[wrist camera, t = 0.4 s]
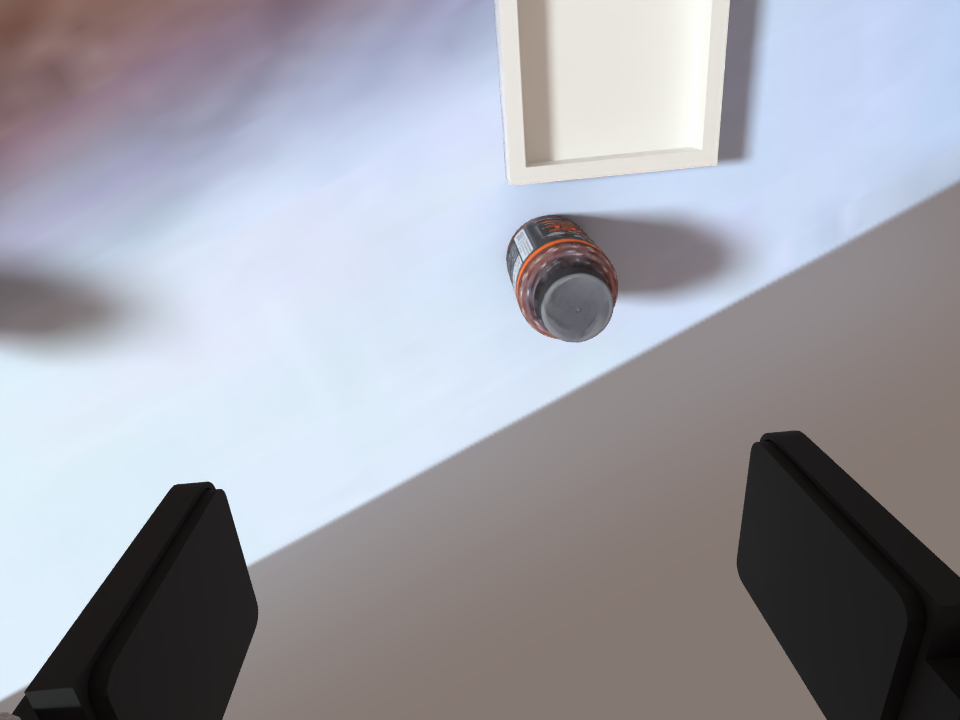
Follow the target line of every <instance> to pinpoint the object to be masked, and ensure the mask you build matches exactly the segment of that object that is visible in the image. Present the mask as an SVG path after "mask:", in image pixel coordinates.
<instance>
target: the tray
mask: <svg viewBox="0 0 960 720" xmlns="http://www.w3.org/2000/svg"><path fill="white" fill-rule="evenodd" d="M494 6H495V21H496V36H497V51H498V66H499V81H500V96H501V111H502V125H503V140H504V155H505V170H506V179H507V181H508V183H509V184H510V186H514V185H524V184H534V183H544V182H554V181H564V180H574V179H584V178H594V177H604V176H614V175H624V174H634V173H644V172H654V171H664V170H674V169H684V168H694V167H704V166H715V165H717V160H718V147H719V134H720V121H721V108H722V96H723V83H724V70H725V57H726V44H727V32H728V19H729V6H730V0H494Z"/></svg>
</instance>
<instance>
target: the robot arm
mask: <svg viewBox="0 0 960 720" xmlns="http://www.w3.org/2000/svg"><path fill="white" fill-rule="evenodd" d="M737 569H738V573H739V576H740V579H741V581H742V583H743V585H744V586H745V588H746V589H747V591H748V592H749V594H750V596H751V598H752V599H753V601H754V602H755V604H756V606H757V607H758V609H759V610H760V612H761V613H762V615H763V617H764V619H765V620H766V622H767V623H768V625H769V627H770V628H771V630H772V632H773V633H774V635H775V636H776V638H777V640H778V641H779V643H780V644H781V646H782V648H783V649H784V651H785V653H786V654H787V656H788V657H789V659H790V661H791V662H792V664H793V665H794V667H795V669H796V670H797V672H798V674H799V675H800V677H801V678H802V680H803V682H804V683H805V685H806V686H807V688H808V690H809V691H810V693H811V695H812V696H813V698H814V699H815V701H816V703H817V704H818V706H819V708H820V709H821V711H822V712H823V714H824V716H825V717H826V719H827V720H960V577H959V576H958V575H957V574H956V573H954V572H953V571H952V570H951V569H950V568H949V567H948V566H947V565H946V564H945V563H944V562H943V561H941V560H940V559H939V558H938V557H937V556H936V555H935V554H934V553H933V552H932V551H930V550H929V549H928V548H927V547H926V546H925V545H924V544H923V543H922V542H921V541H920V540H919V539H918V538H916V537H915V536H914V535H913V534H912V533H911V532H910V531H909V530H908V529H907V528H906V527H904V526H903V525H902V524H901V523H900V522H899V521H898V520H897V519H896V518H895V517H894V516H892V514H890V513H889V512H888V511H887V510H886V509H885V508H884V507H883V506H882V505H881V504H880V503H879V502H877V501H876V500H875V499H874V498H873V497H872V496H871V495H870V494H869V493H868V492H867V491H866V490H864V489H863V488H862V487H861V486H860V485H859V484H858V483H857V482H856V481H855V480H853V479H852V478H851V477H850V476H849V475H848V474H847V473H846V472H845V471H844V470H843V469H842V468H841V467H839V466H838V465H837V464H836V463H835V462H834V461H833V460H832V459H831V458H830V457H829V456H828V455H826V454H825V453H824V452H823V451H822V450H821V449H820V448H819V447H818V446H817V445H816V444H815V443H813V442H812V441H811V440H810V439H809V438H808V437H807V436H806V435H804V434H803V433H802V432H800V431H787V432H786V431H785V432H774V433H766V434H764V435H763V436H762V437H761V440H760V442H756V443H754V444H753V446H752V448H751V454H750V462H749V470H748V477H747V486H746V493H745V501H744V509H743V516H742V524H741V531H740V539H739V547H738V554H737ZM257 620H258V605H257V601H256V598H255V594H254V591H253V587H252V584H251V580H250V577H249V573H248V570H247V566H246V563H245V559H244V556H243V552H242V549H241V545H240V542H239V538H238V535H237V531H236V528H235V524H234V521H233V517H232V514H231V511H230V507H229V504H228V500H227V497H226V494H225V492H224V491H223V490H222V489H215V486H214V485H213V484H212V483H210V482H199V483H187V484H177V485H174V486H173V487H172V488H171V489H170V490H169V492H168V493H167V494H166V496H165V497H164V499H163V500H162V501H161V503H160V504H159V506H158V507H157V508H156V510H155V511H154V513H153V514H152V515H151V517H150V518H149V519H148V521H147V522H146V524H145V525H144V526H143V528H142V529H141V531H140V532H139V533H138V535H137V536H136V538H135V539H134V540H133V542H132V543H131V544H130V546H129V547H128V549H127V550H126V551H125V553H124V554H123V556H122V557H121V558H120V560H119V561H118V563H117V564H116V565H115V567H114V568H113V569H112V571H111V572H110V574H109V575H108V576H107V578H106V579H105V581H104V582H103V583H102V585H101V586H100V588H99V589H98V590H97V592H96V593H95V595H94V596H93V597H92V599H91V600H90V601H89V603H88V604H87V606H86V607H85V608H84V610H83V611H82V613H81V614H80V615H79V617H78V618H77V620H76V621H75V622H74V624H73V625H72V626H71V628H70V629H69V631H68V632H67V633H66V635H65V636H64V638H63V639H62V640H61V642H60V643H59V645H58V646H57V647H56V649H55V650H54V651H53V653H52V654H51V656H50V657H49V658H48V660H47V661H46V663H45V664H44V665H43V667H42V668H41V670H40V671H39V672H38V674H37V675H36V676H35V678H34V679H33V681H32V682H31V683H30V685H29V686H28V688H27V689H26V690H25V694H26V695H25V696H24V697H23V699H22V700H21V702H20V703H19V705H18V706H17V707H16V709H15V710H14V712H13V713H12V714H10V713H7V712H0V720H222V719H223V716H224V713H225V710H226V707H227V705H228V702H229V699H230V697H231V694H232V691H233V689H234V686H235V683H236V680H237V677H238V675H239V672H240V669H241V667H242V664H243V661H244V658H245V656H246V653H247V650H248V647H249V645H250V642H251V639H252V637H253V634H254V631H255V628H256V625H257Z"/></svg>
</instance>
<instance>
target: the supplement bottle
mask: <svg viewBox="0 0 960 720" xmlns="http://www.w3.org/2000/svg"><path fill="white" fill-rule="evenodd" d="M506 260H507V268H508V273H509V276H510V279H511V282H512V285H513V288H514V292H515V295H516V298H517V301H518V304H519V307H520V310H521V312H522V314H523V316H524V317H525V319H526V321H527V322H528V323H529V324H530V325H531V326H532V327H533V328H534V329H535V330H537V331H538V332H540V333H541V334H543V335H545V336H548V337H551V338H555V339H560V340H563V341H566V342H582V341H586V340H589V339H591V338H593V337H595V336H596V335H598V334H599V333H600V332H601V331H602V330H604V328H605V327H606V326H607V324H608V323H609V321H610V319H611V316H612V313H613V308H614V306H615V303H616V299H617V294H618V281H617V276H616V272H615V270H614V268H613V266H612V264H611V262H610V261H609V259H608V258H607V257H606V256H605V254H604V253H603V252H602V251H601V250H600V249H599V248H598V247H597V246H596V245H595V243H594V242H593V241H592V240H591V239H590V238H589V237H588V236H587V234H586V233H584V232H583V230H582V229H581V228H580V227H578V226H577V225H576V224H575V223H573V222H571V221H570V220H568V219H565V218H563V217H560V216H542V217H538V218H535V219H532V220H530V221H528V222H527V223H525V224H524V225H523V226H521V227H520V228H519V229H518V230H517V232H516V233H515V234H514V236H513V237H512V239H511V241H510V243H509V246H508V250H507V257H506Z"/></svg>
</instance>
